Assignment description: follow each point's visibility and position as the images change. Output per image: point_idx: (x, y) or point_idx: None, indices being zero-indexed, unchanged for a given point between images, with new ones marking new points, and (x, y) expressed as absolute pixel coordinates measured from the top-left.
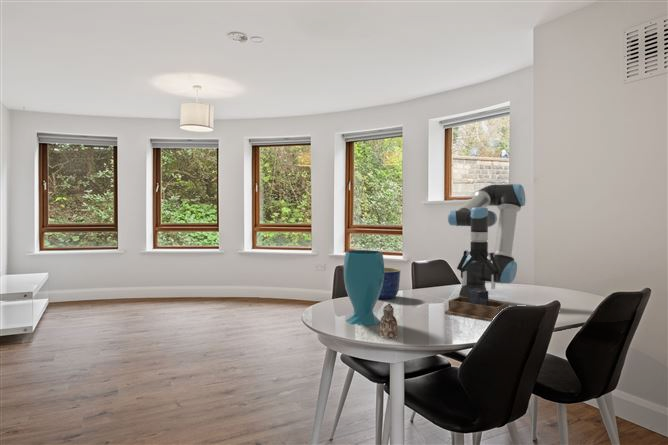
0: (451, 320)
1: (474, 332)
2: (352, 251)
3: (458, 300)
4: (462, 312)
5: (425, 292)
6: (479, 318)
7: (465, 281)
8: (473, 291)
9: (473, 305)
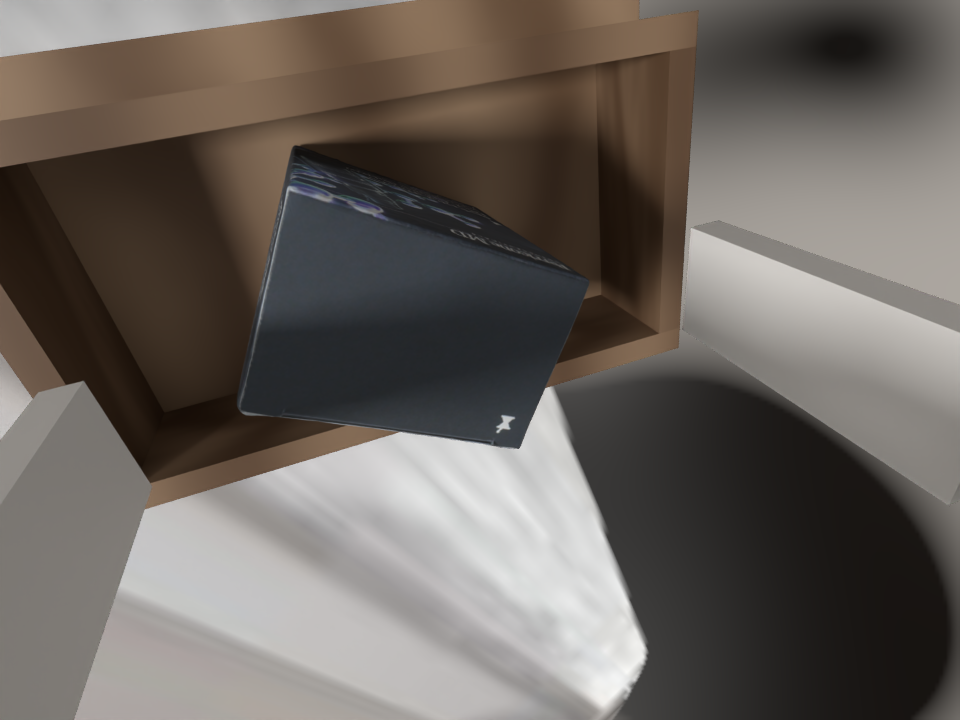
0: (366, 541)
1: (600, 575)
2: None
3: (24, 276)
4: None
5: None
6: None
7: (89, 494)
8: (397, 425)
9: None
